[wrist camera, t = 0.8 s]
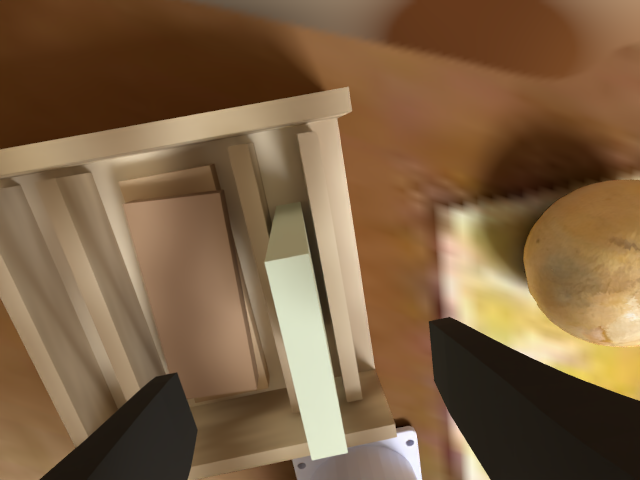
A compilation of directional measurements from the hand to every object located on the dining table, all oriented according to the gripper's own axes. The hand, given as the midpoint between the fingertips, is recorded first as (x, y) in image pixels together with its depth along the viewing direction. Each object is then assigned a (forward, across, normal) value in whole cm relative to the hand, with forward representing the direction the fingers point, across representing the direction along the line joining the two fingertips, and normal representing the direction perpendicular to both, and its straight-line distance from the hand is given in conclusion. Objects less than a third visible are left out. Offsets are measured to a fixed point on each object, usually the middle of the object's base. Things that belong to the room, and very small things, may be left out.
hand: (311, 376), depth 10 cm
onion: (+9, -15, +2) cm, 18 cm away
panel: (+8, 0, 0) cm, 9 cm away
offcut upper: (+8, +5, 0) cm, 9 cm away
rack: (+9, +5, 0) cm, 10 cm away
